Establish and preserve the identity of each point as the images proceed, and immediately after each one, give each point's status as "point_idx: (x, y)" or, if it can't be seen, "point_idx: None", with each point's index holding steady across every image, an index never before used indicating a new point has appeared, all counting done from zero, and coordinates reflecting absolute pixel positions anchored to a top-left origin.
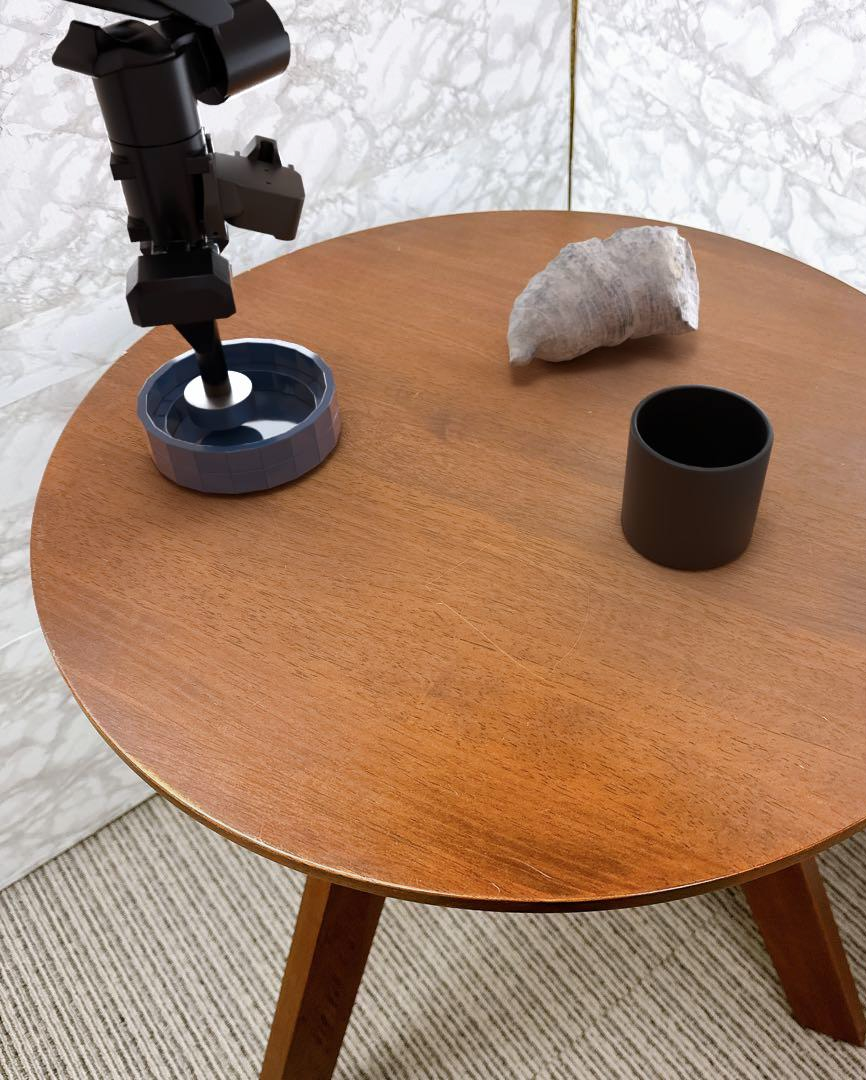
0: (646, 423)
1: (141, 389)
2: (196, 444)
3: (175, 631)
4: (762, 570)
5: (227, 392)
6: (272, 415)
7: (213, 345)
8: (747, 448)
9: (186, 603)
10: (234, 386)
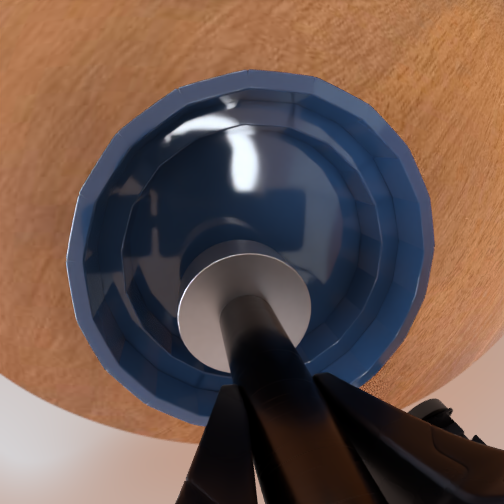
0: None
1: None
2: None
3: (479, 308)
4: None
5: (268, 302)
6: (215, 208)
7: (345, 381)
8: None
9: (464, 304)
10: (243, 288)
